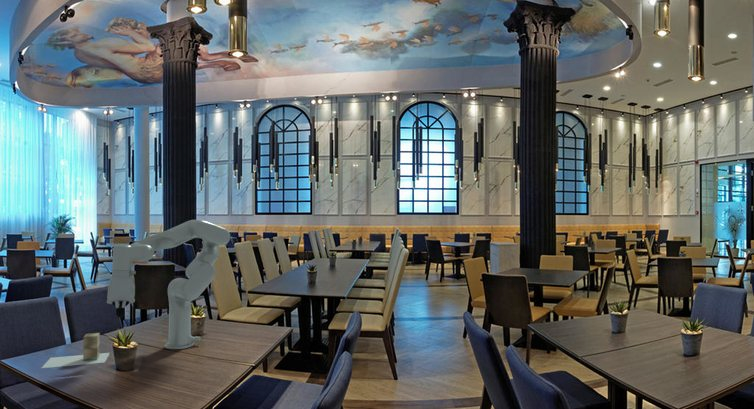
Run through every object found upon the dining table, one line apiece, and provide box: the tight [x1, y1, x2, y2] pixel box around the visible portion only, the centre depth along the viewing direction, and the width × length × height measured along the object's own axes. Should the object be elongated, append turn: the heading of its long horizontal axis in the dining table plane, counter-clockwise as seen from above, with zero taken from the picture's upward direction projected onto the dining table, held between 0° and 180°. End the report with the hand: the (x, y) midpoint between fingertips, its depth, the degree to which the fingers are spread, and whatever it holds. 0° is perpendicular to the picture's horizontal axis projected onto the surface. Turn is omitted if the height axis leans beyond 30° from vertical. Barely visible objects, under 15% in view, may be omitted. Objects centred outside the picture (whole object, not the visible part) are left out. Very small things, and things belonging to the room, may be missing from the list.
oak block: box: [82, 332, 101, 361], centre depth 201 cm, size 5×5×10 cm
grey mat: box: [41, 352, 110, 369], centre depth 199 cm, size 22×14×1 cm, turn 112°
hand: (120, 316), depth 204 cm, fingers closed
